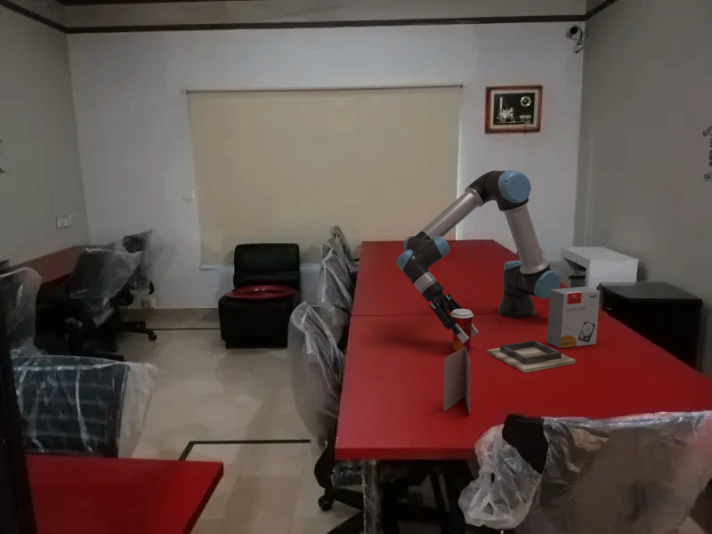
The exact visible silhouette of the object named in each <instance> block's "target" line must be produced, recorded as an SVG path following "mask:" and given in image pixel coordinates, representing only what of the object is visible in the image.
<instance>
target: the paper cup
mask: <svg viewBox="0 0 712 534" xmlns="http://www.w3.org/2000/svg"><path fill="white" fill-rule="evenodd" d="M450 315H451V317H452V319H453V321H454V322H455V324H458V325H459V326H460V328H461V329H462V330H463V331H464V332H465V334H466V335H467V336H468V337H469V339H468V340H466V341H465V342H464V343H462V341H461V340H460V339H459V338H458V336H457V335H456V334H455V333H454V332H453V331H452V341H453V342H452V343H453V344H452V345H453V350H454V351H455V352H457V351H458V350H460V349H462V348H464V347H466V350H467V351H468V352H469V351H470V350H471V340H472V335H471V330H472V325H473V317H474V314H473V311H472V310H470V309H468V308H467V309H466V308H463V309H455V310H453V312H452V313H450Z"/></svg>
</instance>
